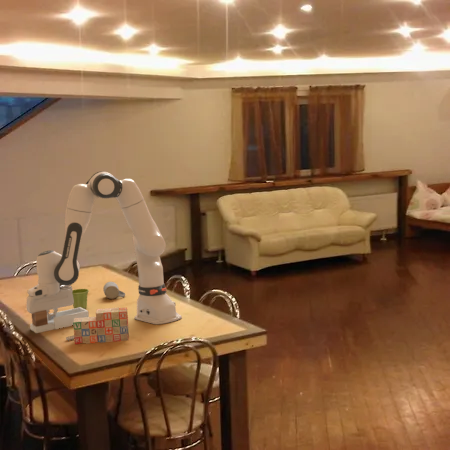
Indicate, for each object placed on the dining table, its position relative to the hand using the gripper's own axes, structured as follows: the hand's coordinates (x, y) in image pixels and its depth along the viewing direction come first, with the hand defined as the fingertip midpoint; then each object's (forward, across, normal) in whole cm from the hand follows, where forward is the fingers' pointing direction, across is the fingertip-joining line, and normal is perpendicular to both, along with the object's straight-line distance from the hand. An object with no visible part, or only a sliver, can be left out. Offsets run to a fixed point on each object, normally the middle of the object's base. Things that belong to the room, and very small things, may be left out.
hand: (52, 318), depth 276 cm
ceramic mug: (+4, -43, -27) cm, 51 cm away
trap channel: (+4, -3, 0) cm, 5 cm away
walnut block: (+1, +5, 0) cm, 6 cm away
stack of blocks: (+4, -8, +32) cm, 34 cm away
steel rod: (+4, -4, +23) cm, 24 cm away
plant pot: (+4, -21, -20) cm, 30 cm away
